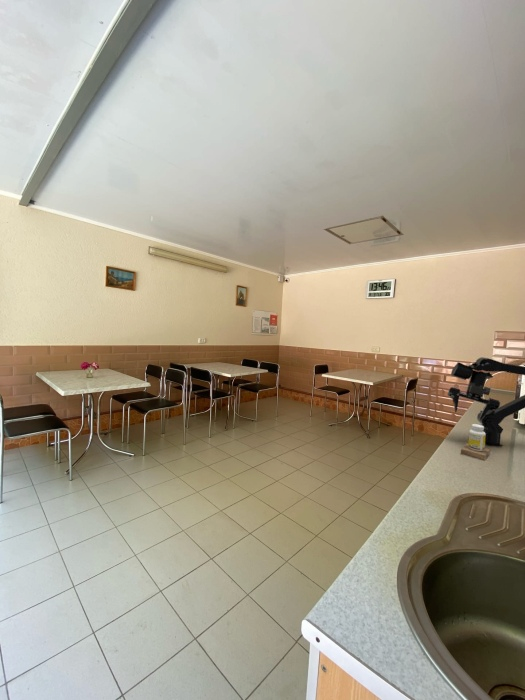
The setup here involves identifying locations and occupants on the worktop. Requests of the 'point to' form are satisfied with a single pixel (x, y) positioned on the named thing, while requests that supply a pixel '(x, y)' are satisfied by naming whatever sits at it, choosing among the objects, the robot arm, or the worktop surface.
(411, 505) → the worktop surface
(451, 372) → the robot arm
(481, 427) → the supplement bottle
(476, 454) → the dock
